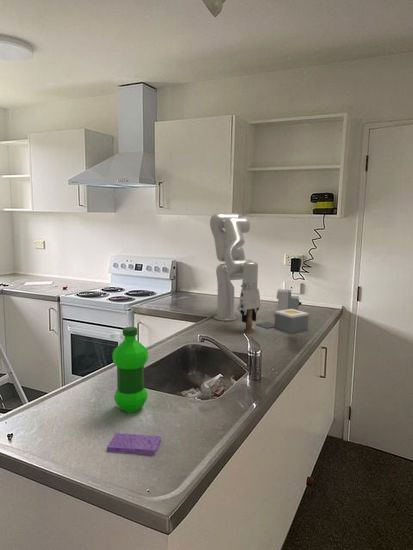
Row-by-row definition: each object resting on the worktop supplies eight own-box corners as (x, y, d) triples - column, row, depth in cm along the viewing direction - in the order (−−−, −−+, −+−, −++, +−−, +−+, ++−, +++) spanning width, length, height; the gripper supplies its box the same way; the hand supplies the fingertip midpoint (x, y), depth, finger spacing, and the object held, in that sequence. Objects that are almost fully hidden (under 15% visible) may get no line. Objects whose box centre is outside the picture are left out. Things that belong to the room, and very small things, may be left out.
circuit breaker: (300, 317, 243) (302, 292, 241) (276, 316, 246) (276, 291, 244) (300, 315, 250) (301, 290, 248) (276, 313, 253) (277, 289, 251)
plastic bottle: (155, 407, 129) (154, 328, 125) (127, 419, 121) (126, 335, 117) (134, 397, 135) (133, 322, 132) (106, 408, 127) (105, 329, 124)
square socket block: (274, 328, 221) (275, 311, 219) (290, 324, 227) (291, 308, 226) (291, 333, 211) (291, 316, 210) (307, 330, 217) (308, 313, 216)
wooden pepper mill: (242, 331, 214) (243, 304, 212) (249, 329, 217) (249, 303, 215) (248, 333, 211) (248, 305, 209) (254, 331, 213) (255, 305, 211)
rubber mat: (255, 324, 226) (255, 324, 226) (268, 322, 231) (268, 321, 231) (266, 328, 219) (266, 327, 219) (279, 326, 224) (279, 325, 224)
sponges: (155, 457, 103) (155, 449, 103) (106, 453, 105) (105, 446, 105) (161, 442, 110) (161, 435, 110) (115, 438, 112) (115, 431, 112)
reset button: (284, 320, 219) (284, 312, 219) (291, 319, 222) (291, 311, 221) (291, 322, 215) (291, 314, 214) (298, 321, 218) (298, 313, 217)
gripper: (241, 288, 202) (240, 325, 205) (267, 285, 212) (266, 320, 214) (231, 286, 209) (230, 322, 211) (257, 283, 218) (256, 317, 221)
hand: (248, 321), depth 213 cm, fingers open, 5 cm apart
